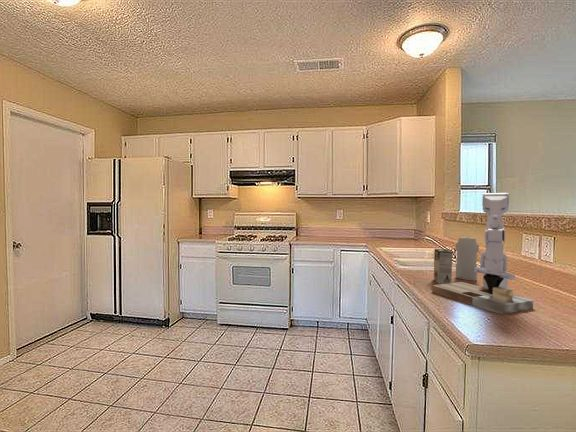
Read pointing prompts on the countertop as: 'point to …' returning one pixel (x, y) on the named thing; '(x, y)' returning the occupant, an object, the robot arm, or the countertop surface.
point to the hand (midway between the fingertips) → (492, 294)
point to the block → (502, 293)
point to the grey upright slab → (466, 258)
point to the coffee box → (442, 266)
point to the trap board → (481, 297)
